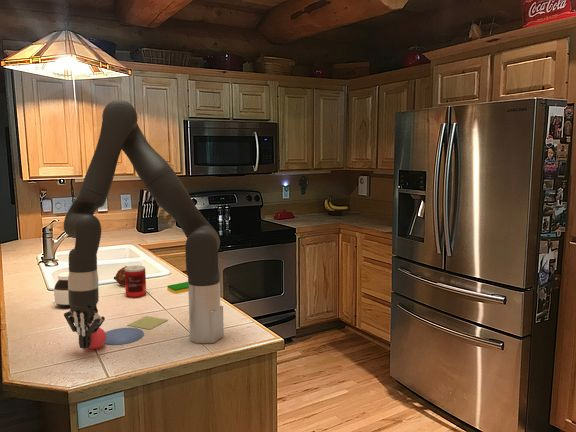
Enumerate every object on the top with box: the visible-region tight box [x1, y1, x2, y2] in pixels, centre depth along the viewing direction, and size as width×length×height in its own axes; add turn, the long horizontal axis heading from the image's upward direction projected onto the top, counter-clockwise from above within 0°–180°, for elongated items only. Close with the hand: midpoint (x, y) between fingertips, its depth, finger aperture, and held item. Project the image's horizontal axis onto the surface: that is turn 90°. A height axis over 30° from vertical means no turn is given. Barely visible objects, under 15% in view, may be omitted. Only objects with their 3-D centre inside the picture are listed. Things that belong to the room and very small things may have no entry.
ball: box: [87, 327, 106, 350], centre depth 132 cm, size 6×6×6 cm
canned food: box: [124, 264, 147, 299], centre depth 180 cm, size 8×8×11 cm
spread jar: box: [53, 271, 71, 309], centre depth 170 cm, size 12×11×12 cm
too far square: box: [127, 315, 169, 331], centre depth 152 cm, size 9×9×1 cm
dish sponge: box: [166, 281, 189, 295], centre depth 190 cm, size 7×14×2 cm, turn 130°
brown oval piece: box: [113, 265, 129, 287], centre depth 195 cm, size 8×8×12 cm
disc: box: [103, 327, 145, 346], centre depth 141 cm, size 13×13×1 cm
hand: (84, 347), depth 128 cm, fingers closed
